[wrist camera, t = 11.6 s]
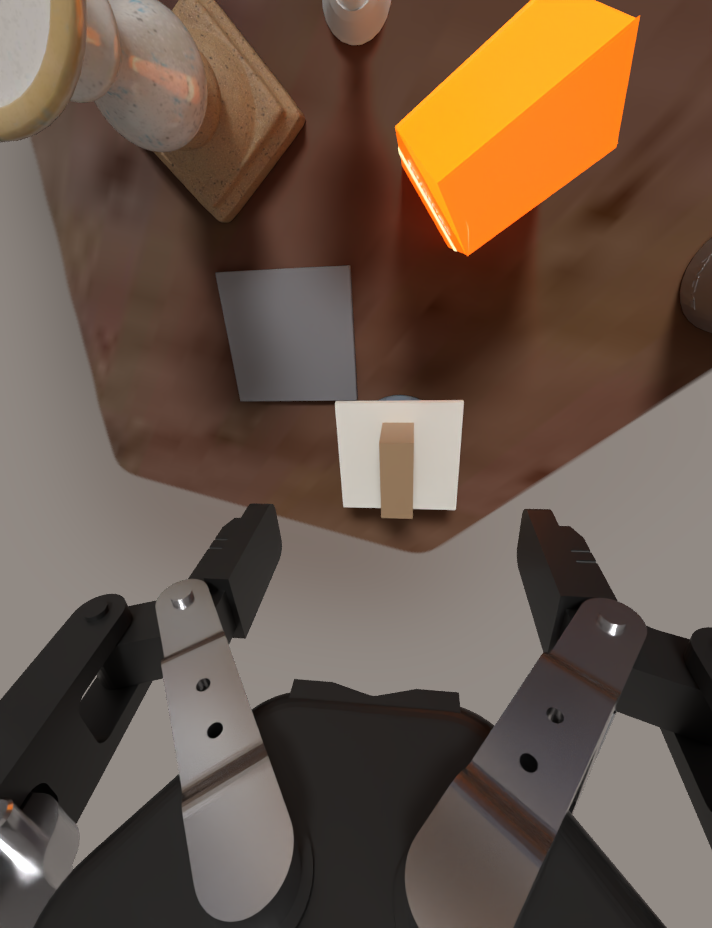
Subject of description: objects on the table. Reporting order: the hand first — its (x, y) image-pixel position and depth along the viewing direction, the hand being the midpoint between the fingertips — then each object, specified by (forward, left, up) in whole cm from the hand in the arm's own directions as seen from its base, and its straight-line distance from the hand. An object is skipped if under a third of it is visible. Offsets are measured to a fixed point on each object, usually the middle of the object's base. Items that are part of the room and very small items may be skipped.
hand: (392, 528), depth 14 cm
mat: (+12, 0, -32) cm, 34 cm away
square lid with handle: (+1, +11, -27) cm, 29 cm away
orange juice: (-5, -13, -32) cm, 35 cm away
